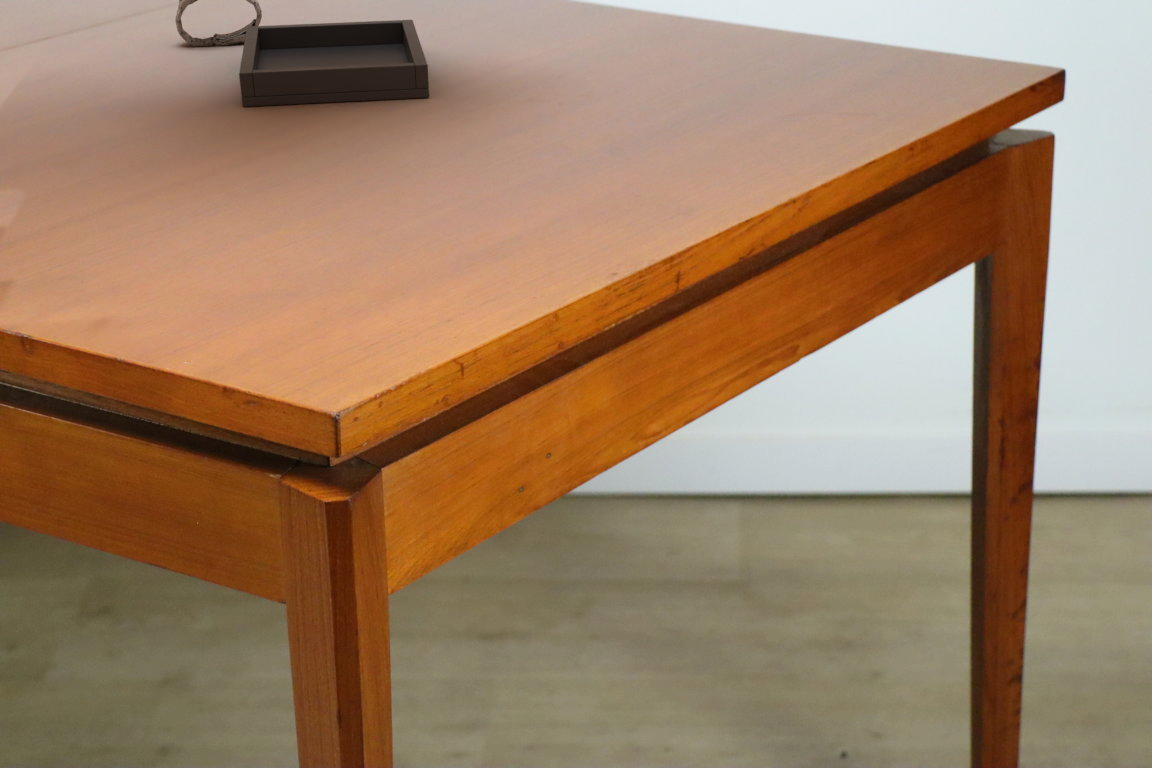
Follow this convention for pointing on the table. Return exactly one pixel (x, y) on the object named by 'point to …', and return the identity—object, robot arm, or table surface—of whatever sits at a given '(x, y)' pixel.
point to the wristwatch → (218, 38)
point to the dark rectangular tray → (332, 63)
